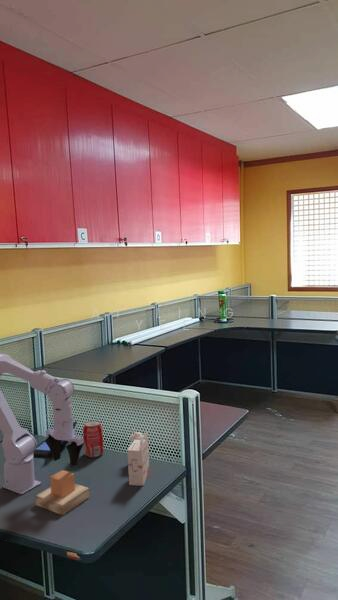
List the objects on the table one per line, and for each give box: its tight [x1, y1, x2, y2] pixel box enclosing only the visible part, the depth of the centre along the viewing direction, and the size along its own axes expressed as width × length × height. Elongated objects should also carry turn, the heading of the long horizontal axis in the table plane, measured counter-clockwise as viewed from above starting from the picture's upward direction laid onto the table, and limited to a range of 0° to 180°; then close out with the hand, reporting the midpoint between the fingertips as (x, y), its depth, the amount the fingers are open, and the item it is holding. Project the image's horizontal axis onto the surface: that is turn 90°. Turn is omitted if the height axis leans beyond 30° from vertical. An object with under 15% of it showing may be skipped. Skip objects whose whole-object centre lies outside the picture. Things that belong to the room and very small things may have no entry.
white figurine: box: [129, 428, 144, 443], centre depth 161 cm, size 9×4×12 cm, turn 36°
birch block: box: [35, 483, 90, 516], centre depth 137 cm, size 11×11×4 cm
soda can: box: [82, 419, 104, 458], centre depth 169 cm, size 7×7×12 cm
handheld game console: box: [33, 420, 78, 459], centre depth 175 cm, size 16×13×9 cm
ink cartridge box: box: [126, 431, 150, 487], centre depth 149 cm, size 9×5×15 cm, turn 168°
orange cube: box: [49, 469, 76, 497], centre depth 137 cm, size 5×5×5 cm
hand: (65, 462), depth 142 cm, fingers open, 7 cm apart
